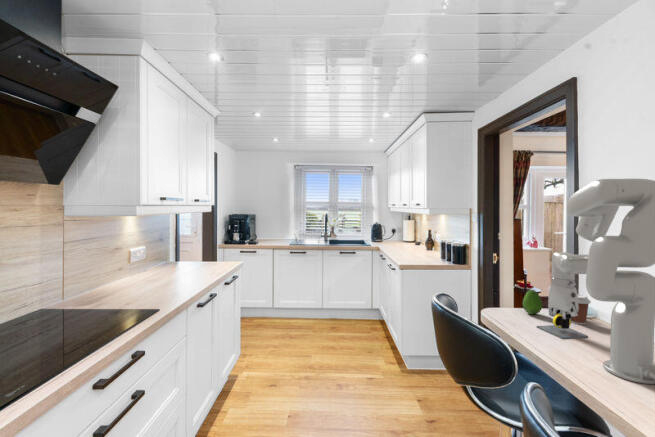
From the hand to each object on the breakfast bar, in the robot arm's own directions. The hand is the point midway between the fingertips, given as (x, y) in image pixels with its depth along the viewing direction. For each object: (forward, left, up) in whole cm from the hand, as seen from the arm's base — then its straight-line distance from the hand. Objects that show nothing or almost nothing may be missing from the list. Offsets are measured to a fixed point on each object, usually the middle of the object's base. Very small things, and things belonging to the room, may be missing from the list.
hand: (561, 326), depth 128 cm
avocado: (+22, -6, -3) cm, 23 cm away
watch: (0, 0, -1) cm, 1 cm away
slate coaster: (0, 0, -2) cm, 2 cm away
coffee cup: (+10, -18, -3) cm, 21 cm away
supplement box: (+20, -18, -3) cm, 27 cm away
